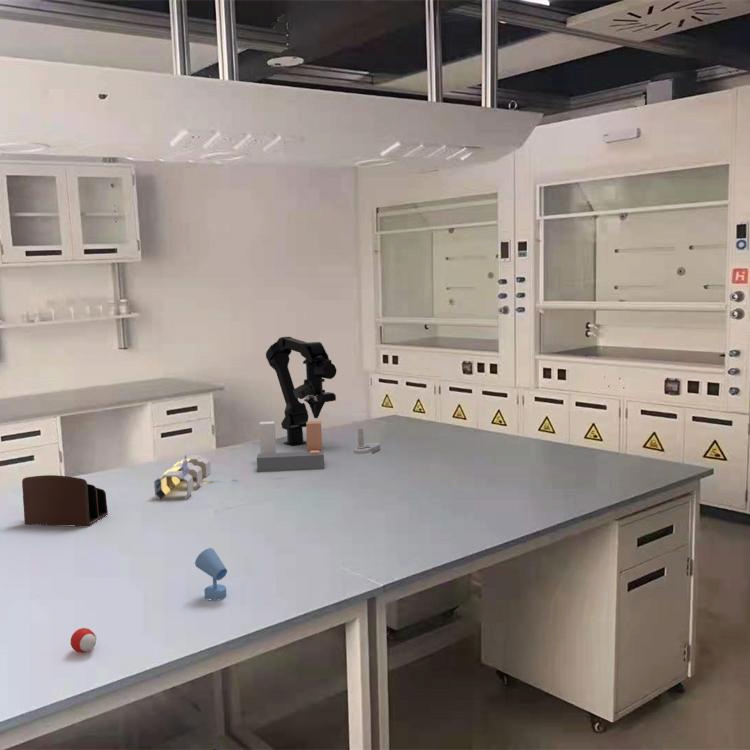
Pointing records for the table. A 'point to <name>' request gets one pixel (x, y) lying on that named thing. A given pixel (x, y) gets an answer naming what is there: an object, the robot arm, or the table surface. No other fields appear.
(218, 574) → the spotlight
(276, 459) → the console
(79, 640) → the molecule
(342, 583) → the table surface
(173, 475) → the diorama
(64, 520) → the letter holder
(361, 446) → the electronic device
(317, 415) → the robot arm
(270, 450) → the key
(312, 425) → the key
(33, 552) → the table surface
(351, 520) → the table surface
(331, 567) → the table surface
